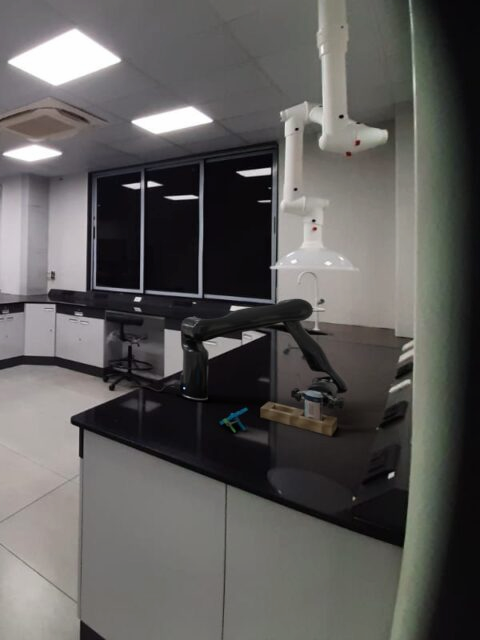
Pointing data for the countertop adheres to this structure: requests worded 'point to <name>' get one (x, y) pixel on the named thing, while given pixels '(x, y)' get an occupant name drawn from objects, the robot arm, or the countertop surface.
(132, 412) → the countertop surface
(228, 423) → the blue-green rod frame
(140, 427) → the countertop surface
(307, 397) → the beer can
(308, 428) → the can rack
